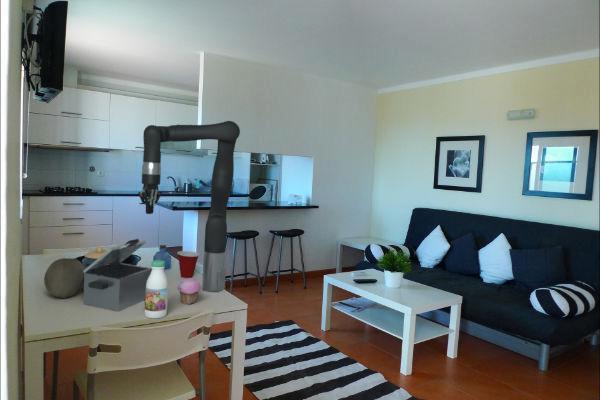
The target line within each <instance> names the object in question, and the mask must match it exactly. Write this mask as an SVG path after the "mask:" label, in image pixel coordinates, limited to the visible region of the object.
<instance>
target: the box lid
mask: <svg viewBox="0 0 600 400" xmlns="http://www.w3.org/2000/svg"><path fill="white" fill-rule="evenodd" d="M146 243H147V241H146V240H141V241H140V239H138V238H136V239H131V240H128V241H127V242H126V243H125V244H123V245H119V246H115V247H111V248H109V249H108V250H107V252H106V253H104V254H103V255H102V256H101V257H99V258H98V259H97V260H96V261H95V262H93V263H92V264H91V265H90V266H88V267H87V268H86V269H85V270H84V271H83V272H84V273H87V272H90V271H94V270H97V269H101V268H104V267H108V266H112V265H115V264H119V263H123V262H124V261H125V260H126V259H128V258H129V257H131V255H133V254H134V253H135V252H137V251H138V250H139V249H141V247H142V246H144V245H145V244H146Z"/></svg>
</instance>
